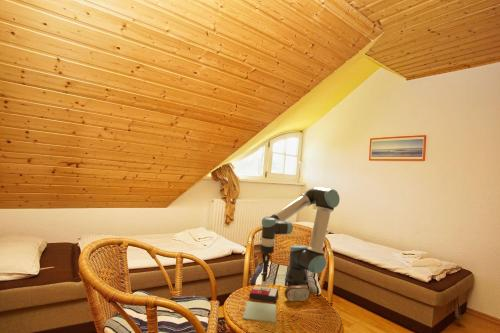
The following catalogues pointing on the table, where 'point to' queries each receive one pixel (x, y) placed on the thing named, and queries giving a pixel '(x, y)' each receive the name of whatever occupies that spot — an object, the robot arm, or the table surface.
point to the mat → (260, 312)
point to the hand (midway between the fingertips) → (264, 282)
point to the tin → (297, 293)
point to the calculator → (264, 294)
